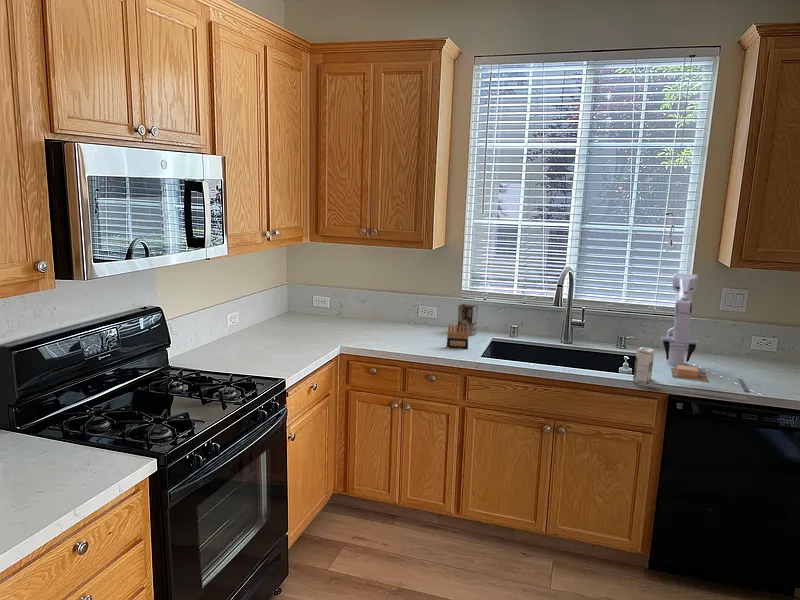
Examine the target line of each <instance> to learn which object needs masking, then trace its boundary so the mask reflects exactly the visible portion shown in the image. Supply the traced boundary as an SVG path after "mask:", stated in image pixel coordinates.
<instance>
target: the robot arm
mask: <svg viewBox="0 0 800 600" xmlns="http://www.w3.org/2000/svg"><path fill="white" fill-rule="evenodd" d="M698 281H699V275H698V274H697V273H695V274H691V273H679V272H675V273H674V274H673V279H672V290H673V291H675V292H676V301H675V304H674V321H673V326H672V327H671V328H669V329H667V333H666V336H660V339H659V340H660V343H662V344H663V347H664V350H665V355H666V357H665V358H666V364H667V365H669V366H673V367H677V365H684V363H685V361H686V363H689V361H690V358H691V356H692V354H693V353H694V351H695V350H696V348H697V347H699V346H700V340H696V339H691V333H690V331H689V329H690V323H691V315H692V314H693V308H694V302H693V294H692V293H694V292H695V291H696V290H697V287H698ZM686 350H687V355H685V354H686ZM685 356H686V359H685ZM684 366H685V365H684Z"/></svg>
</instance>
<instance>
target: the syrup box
mask: <svg viewBox="0 0 800 600" xmlns="http://www.w3.org/2000/svg"><path fill="white" fill-rule="evenodd" d="M655 351H656V350H655V349H653V348H650V347H644V346H641V347H640V348H638V349H636V354H635V363H634V370H633V377H632V382H633V383H636V384H642V385H645V386H646V385H648V384H650V382H649V381H650V380H652V374H653V368H654V367H653V366H654V361H655V360H654V359H655V358H654V357H655Z"/></svg>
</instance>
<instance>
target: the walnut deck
mask: <svg viewBox="0 0 800 600" xmlns="http://www.w3.org/2000/svg"><path fill="white" fill-rule="evenodd" d="M676 370H677V367H670V371H671V376H672V379H680V380H687V381H694V382H702V383H709V384H710V381H709V377H708V375H707V373H706V372H705V371H699V372H698V378H693V377H685V376H678V375H677V372H676Z"/></svg>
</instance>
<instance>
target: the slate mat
mask: <svg viewBox="0 0 800 600" xmlns="http://www.w3.org/2000/svg"><path fill="white" fill-rule="evenodd" d="M737 381H738V382H739V384H740V387H741V389H742V390H743V392H745V393H750V390H749V388H748V387H747V385H746V384H745V381H744V379H743V378H740V377H738V378H737Z"/></svg>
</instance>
